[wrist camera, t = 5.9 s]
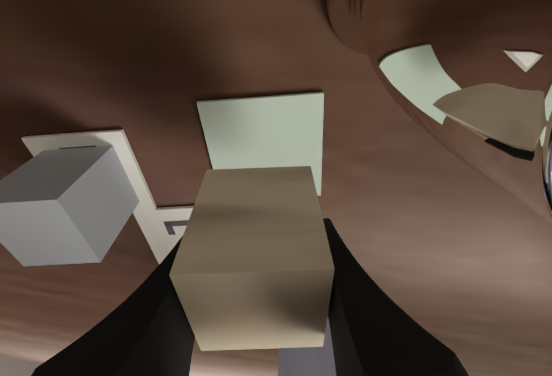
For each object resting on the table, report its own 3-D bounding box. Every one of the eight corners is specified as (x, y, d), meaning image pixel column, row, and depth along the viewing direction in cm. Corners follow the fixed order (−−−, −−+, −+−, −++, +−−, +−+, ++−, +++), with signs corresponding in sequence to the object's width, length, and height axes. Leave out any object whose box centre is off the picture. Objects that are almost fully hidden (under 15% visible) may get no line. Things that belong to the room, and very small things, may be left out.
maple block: (306, 238, 16) (322, 346, 11) (222, 241, 16) (201, 350, 11) (310, 165, 13) (334, 269, 8) (206, 169, 13) (169, 275, 8)
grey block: (139, 201, 22) (100, 262, 17) (78, 205, 22) (23, 266, 17) (112, 145, 19) (56, 199, 14) (43, 150, 19) (-36, 205, 14)
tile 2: (231, 259, 26) (230, 262, 26) (160, 263, 27) (159, 265, 26) (216, 204, 22) (215, 206, 22) (133, 209, 23) (132, 211, 22)
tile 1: (157, 207, 23) (155, 210, 22) (75, 212, 23) (73, 215, 23) (123, 129, 18) (120, 131, 18) (24, 136, 19) (20, 138, 18)
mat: (320, 192, 22) (320, 195, 21) (221, 199, 22) (220, 201, 22) (323, 91, 17) (323, 93, 17) (197, 101, 17) (196, 102, 17)
